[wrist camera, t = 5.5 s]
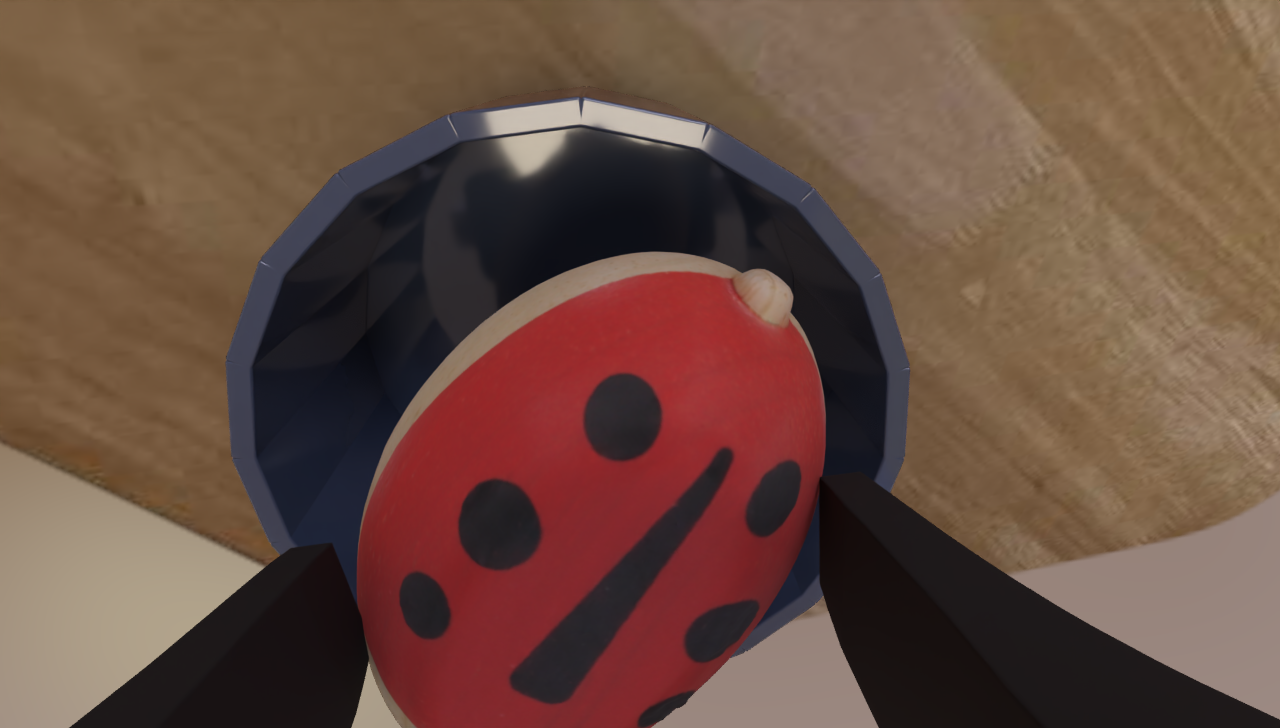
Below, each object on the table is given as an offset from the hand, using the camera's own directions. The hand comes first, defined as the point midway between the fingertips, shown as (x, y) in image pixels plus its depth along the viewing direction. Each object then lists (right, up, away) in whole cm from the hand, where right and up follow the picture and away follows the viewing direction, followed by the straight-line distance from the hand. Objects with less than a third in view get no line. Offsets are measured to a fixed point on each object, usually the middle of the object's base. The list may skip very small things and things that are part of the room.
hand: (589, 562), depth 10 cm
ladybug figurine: (0, +1, +2) cm, 2 cm away
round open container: (-1, +4, +9) cm, 10 cm away
